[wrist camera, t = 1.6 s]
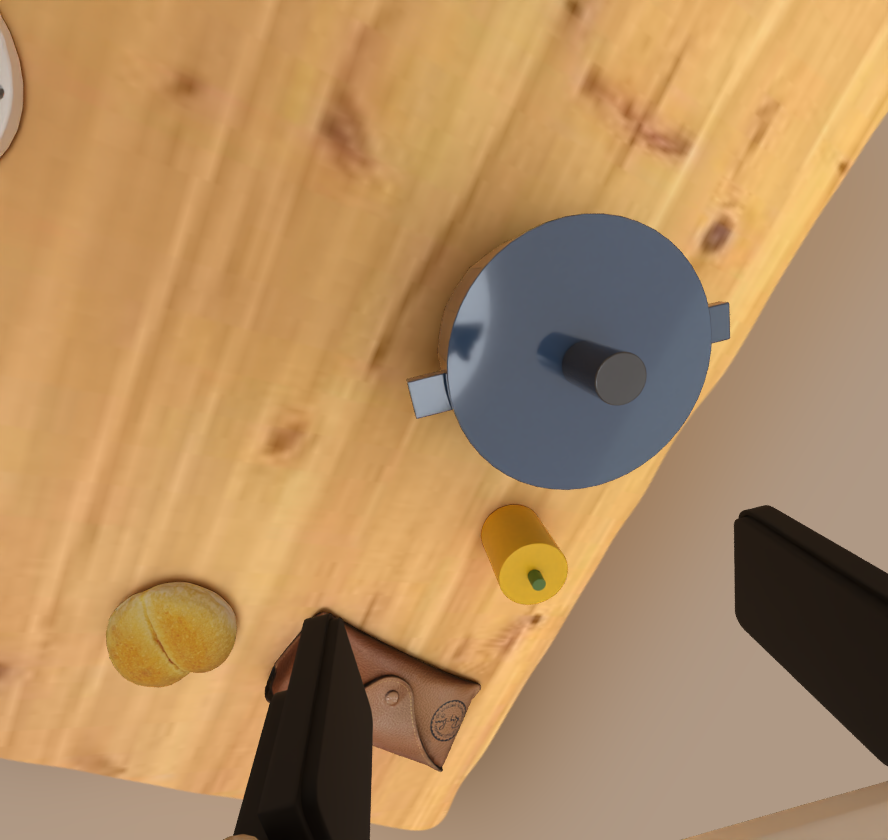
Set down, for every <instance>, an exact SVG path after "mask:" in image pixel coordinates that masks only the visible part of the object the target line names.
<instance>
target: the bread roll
mask: <svg viewBox="0 0 888 840" xmlns="http://www.w3.org/2000/svg"><path fill="white" fill-rule="evenodd" d="M236 629H237V626H236V617H235V614H234V612H233V610H232V608H231V607H230V605H229V604H228V603H227V602H226V601H225V600H224V599H223V598H222V597H220V596H219V595H218V594H216V593H215V592H213V591H210V590H208V589H206V588H203V587H201V586H198V585H195V584H191V583H187V582H172V583H165V584H161V585H157V586H155V587H153V588H150V589H148V590H146V591H144V592H141V593H137V594H135V595H132V596H131V597H129V598H128V599H126V600H125V601H124V602H123V603H121V604H120V605H119V606H118V607H117V608H116V609H115V611H114V612H113V614H112V615H111V617H110V619H109V622H108V626H107V630H106V642H107V649H108V652H109V658H110V659H111V661H112V663H113V665H114V667H115V668H116V670H117V671H118V672H119V673H120V674H121V675H122V676H123V677H124V678H125V679H127V680H128V681H131V682H133V683H135V684H137V685H141V686H147V687H165V686H169V685H172V684H174V683H175V682H177V681H179V680H181V679H182V678H183V677H185V676H186V675H187V674H189V673H190V672H195V673H203V672H208V671H211V670H213V669H215V668H217V667H218V666H220V665H221V664H222V663H223V662H224V661H225V660H226V659H227V657H228V656H229V654H230V652H231V650H232V648H233V646H234V643H235V639H236Z"/></svg>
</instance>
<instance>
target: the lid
mask: <svg viewBox="0 0 888 840" xmlns="http://www.w3.org/2000/svg"><path fill="white" fill-rule="evenodd" d="M711 340H712V328H711V318H710V311H709V307H708V302H707V298H706V295H705V292H704V290H703V287H702V284H701V282H700V280H699V278H698V276H697V274H696V272H695V271H694V269H693V267H692V265H691V264H690V263H689V261H688V260H687V259H686V257H685V256H684V255H683V253H682V252H681V251H680V250H679V249H678V248H677V247H676V246H675V245H674V244H673V243H672V242H671V241H670V240H669V239H667V238H666V237H664V236H663V235H661V234H660V233H659V232H657V231H656V230H654V229H652V228H650V227H648V226H646V225H644V224H642V223H640V222H638V221H635V220H632V219H629V218H625V217H622V216H616V215H610V214H578V215H572V216H565V217H562V218H559V219H555V220H552V221H549V222H546V223H543V224H541V225H538V226H536V227H534V228H532V229H530V230H528V231H526V232H524V233H522V234H521V235H519V236H518V237H516V238H515V239H513V240H512V241H510V242H508V243H507V244H506V245H505V246H504V247H503V248H501V249H500V250H499V251H498V252H497V253H495V254H494V255H493V256H492V257H491V258H490V260H489V261H488V262H487V263H486V264H485V265H484V266H483V267H482V268H481V269H480V271H479V272H478V273H477V275H476V276H475V278H474V279H473V280H472V282H471V283H470V285H469V286H468V288H467V290H466V292H465V294H464V295H463V297H462V299H461V301H460V303H459V305H458V308H457V311H456V313H455V316H454V318H453V321H452V324H451V329H450V333H449V337H448V341H447V350H446V359H445V360H446V382H447V388H448V395H449V398H450V402H451V405H452V409H453V412H454V414H455V416H456V418H457V421H458V423H459V425H460V427H461V429H462V431H463V432H464V434H465V435H466V437H467V439H468V440H469V442H470V443H471V444H472V446H473V447H474V448H475V449H476V450H477V451H478V453H479V454H480V455H481V456H482V457H483V458H484V459H485V460H487V461H488V462H489V463H490V464H491V465H492V466H493V467H495V468H496V469H498V470H500V471H501V472H503V473H504V474H506V475H507V476H510V477H512V478H514V479H516V480H518V481H520V482H523V483H526V484H530V485H533V486H536V487H542V488H548V489H562V490H570V489H581V488H587V487H592V486H597V485H600V484H603V483H606V482H609V481H612V480H615V479H617V478H619V477H621V476H623V475H626V474H628V473H630V472H631V471H633V470H635V469H636V468H638V467H639V466H641V465H643V464H644V463H645V462H647V461H648V460H649V459H651V458H652V457H653V456H654V455H656V454H657V453H658V452H659V451H660V450H661V449H662V448H663V447H664V446H665V445H666V444H667V443H668V442H669V441H670V440H671V439H672V438H673V437H674V435H675V434H676V433H677V432H678V431H679V429H680V428H681V427H682V425H683V424H684V422H685V421H686V419H687V418H688V416H689V415H690V413H691V411H692V409H693V407H694V405H695V403H696V401H697V400H698V397H699V395H700V392H701V389H702V387H703V384H704V381H705V378H706V374H707V370H708V367H709V360H710V354H711Z"/></svg>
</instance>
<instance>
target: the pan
mask: <svg viewBox="0 0 888 840" xmlns="http://www.w3.org/2000/svg"><path fill="white" fill-rule="evenodd" d="M510 241H512V240H509V241H506V242H504V243H502V244H501V245H500V246H498V247H497V248H496V249H494V250H493V251H491V252H490V253H488V254H486V255H485V256H484V257H483V258H481V259H480V260H479V261H478V262H477V263H475V264H474V265H473V266H471V267H470V268H469V269H468V270H467V272H466V274H465V275H464V276H463V278H462V279H461V281H460V282H459V283H458V285H457V286H456V288H455V289H454V291H453V293H452V295H451V297H450V299H449V301H448V303H447V305H446V306H445V309H444V314H443V318H442V322H441V326H440V332H439V342H438V349H437V353H438V358H439V362H440V369H441V371H437V372H433V373H429V374H425V375H421V376H417V377H413V378H409V379H406V381H407V385H408V389H409V393H410V396H411V400H412V404H413V408H414V412H415V416H416V419H418V418H422V417H426V416H430V415H434V414H438V413H442V412H446V411H449V410H453V409H452V405H451V402H450V398H449V395H448V388H447V382H446V360H445V359H446V350H447V341H448V337H449V333H450V329H451V324H452V321H453V318H454V316H455V313H456V311H457V308H458V305H459V303H460V301H461V299H462V297H463V295H464V294H465V292H466V290H467V288H468V286H469V285H470V283H471V282H472V280H473V279H474V278H475V276H476V275H477V273H478V272H479V271H480V269H481V268H482V267H483V266H484V265H485V264H486V263H487V262H488V261H489V260H490V258H491V257H492V256H493V255H494V254H495V253H497V252H498V251H499V250H500V249H501V248H503V247H504V246H505V245H506V244H507V243H508V242H510ZM708 307H709V311H710V318H711V328H712V340H711V344H712V343H715V342H719V341H723V340H727V339H730V317H729V302H715V303H711V304H708Z"/></svg>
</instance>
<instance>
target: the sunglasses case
mask: <svg viewBox="0 0 888 840" xmlns="http://www.w3.org/2000/svg"><path fill="white" fill-rule="evenodd" d="M324 614H328V613H326V612H322V613H319V614H317V615H315V616H314V617H316V616H320V615H324ZM333 617H334V616H333ZM334 619H336V617H334ZM343 623H344V626H345V629H346V632H347V635H348V638H349V641H350V644H351V647H352V651H353V654H354V657H355V660H356V663H357V666H358V669H359V672H360V675H361V679H362V682H363V685H364V688H365V691H366V694H367V697H368V700H369V703H370V707H371V711H372V718H373V743H372V745H373V746H376V747H378V748H381V749H383V750H386V751H389V752H392V753H394V754H397V755H399V756H403V757H405V758H408V759H412V760H414V761H417V762H419V763H423V764H425V765H428V766H430V767H432V768H433V769H435V770H437V771H440V772H442V771H443V769H442V766H443V764H444V762H445V760H446V758H447V756H448V753H449V751H450V749H451V746H452V744H453V742H454V739H455V737H456V735H457V733H458V730H459V728H460V725H461V723H462V721H463V719H464V717H465V714H466V712H467V710H468V707H469V705H470V703H471V700H472V699H473V698H474V697H475V695H476V694H477V693H478V692H479V690H480V689H481V685H479V684H478V683H475V682H472V681H469V680H466V679H463V678H460V677H457V676H454V675H451V674H449V673H446V672H444V671H442V670H440V669H437V668H435V667H433V666H431V665H429V664H426V663H424V662H422V661H420V660H418V659H416V658H414V657H412V656H409V655H407V654H405V653H403V652H401V651H399V650H397V649H395V648H393V647H391V646H389V645H387V644H385V643H384V642H382V641H380V640H378V639H376V638H374V637H372V636H370V635H368V634H366V633H364V632H362V631H360V630H358V629H356V628H355V627H353V626H351V625H349V624H348V623H346V622H344V621H343ZM300 635H301V632H300V633H299V634H298V636H297V637H296V638H295V639H294V640H293V642H292V643H291V644H290V645H289V646H288V648H287V649H286V650H285V651H284V652H283V654H282V655H281V656H280V657H279V659H278V660H277V661H276V663H275V665H274V667H273V669H272V671H271V674H270V676H269V679H268V681H267V685H266V687H265V698H266V700H267V701H268V702H269V703H270V702H271V699H272V697H273V695H274V694H275V693H277V692H281V691H285V690H287V689H288V685H289V681H290V676H291V672H292V668H293V664H294V660H295V656H296V652H297V648H298V643H299V639H300Z"/></svg>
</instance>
